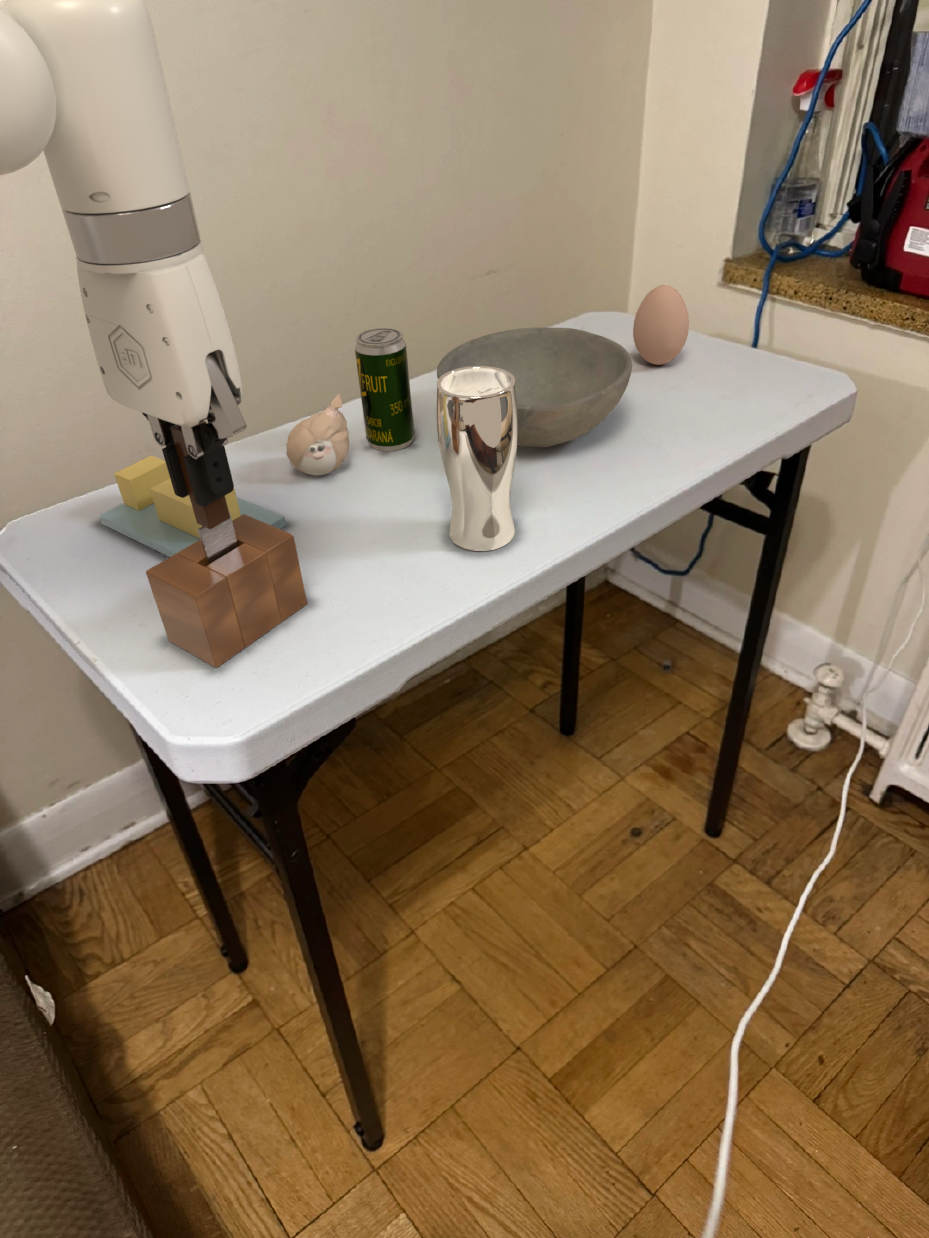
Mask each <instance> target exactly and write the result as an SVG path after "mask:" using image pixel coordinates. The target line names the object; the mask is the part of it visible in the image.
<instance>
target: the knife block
mask: <svg viewBox="0 0 929 1238" xmlns="http://www.w3.org/2000/svg"><path fill="white" fill-rule="evenodd" d="M232 523H233V527H234V531H235V535H236V539H237V543H238V547H237V548H236V549H234V550H232V551H231V552H229V553H227V554H226V555H224V556H222V557H221V558H219V559H217V560H216V561H214V562H212V563H211V564H209V565H207V562H206V558H205V555H204V551H203V548H202V544H201V541H200V540H198V541H197V542H195V543H193V544H191V545H190V546H188V547H186V548H185V549H183V550H181V551H179V552H178V553H177V554H174V555H173V556H171V557H169V556H168V558H166V559H164V560H163V561H160V562H159V563H157V564H156V565H154V566H152V567H150V568H149V569H147V570H145V575H146V577H147V580H148V583H149V586H150V589H151V593H152V595H153V598H154V601H155V604H156V607H157V611H158V614H159V616H160V619H161V622H162V625H163V628H164V632H165V634H166V637H167V640H168V642H170V643H171V644H173V645H174V646H176V647H178V648H180V649H182V650H183V651H186V652H187V653H189V654H191V656H192V655H193V656H194V657H196V658H197V659H200V660H202V661H203V662H204V663H207V664H208V665H210V666H212V667H214V668H216V669H217V668H219V667H220V666H222V665H223V664H224V663H226V662H227V661H229V660H230V659H232V658H233V657H234V656H236V655H237V654H239V653H240V652H242V651H243V650H244V649H245V648H247V647H249V646H251V644H253V643H254V642H256V641H257V640H259V639H260V638H261V637H263V636H264V635H266V634H267V633H269V632H270V631H271V630H273V629H274V628H276V627H277V626H278V625H280V624H282V622H284V621H287V619H288V618H290V617H291V616H293V615H295V613H297V612H298V611H300V610H301V609H303V608H304V607H306V606H307V605H308V600H307V594H306V590H305V585H304V580H303V575H302V570H301V566H300V561H299V555H298V550H297V545H296V540H295V536H294V534H293V533H291V532H288V531H286V530H283V529H282V528H281V529H278V528H276V527H274V526H271V525H269V524H266V523H264V522H262V521H259V520H257V519H254V518H252V517H250V516H247V515H245V514H243V515H241V516H239V517H238V518H236V519H234V520H233V521H232Z"/></svg>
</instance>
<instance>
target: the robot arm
mask: <svg viewBox="0 0 929 1238" xmlns="http://www.w3.org/2000/svg"><path fill="white" fill-rule="evenodd" d="M151 19H152V18H151V15H150V12H149V10H148V7H147V5H146V4H145V2H144V0H0V176H5V175H8V174H13V173H15V172H17V171H19V170H22V169H24V168H25V167H28V166H29V165H30V164H31V163H32V162H34V161H35V160H36V159H38V157H40V155H41V154H42V153H43V154H44V158H45V160H46V163H47V166H48V170H49V173H50V177H51V180H52V182H53V186H54V190H55V193H56V195H57V199H58V202H59V205H60V208H61V211H62V214H63V217H64V218H63V219H64V221H65V225H66V228H67V230H68V234H69V237H70V240H71V244H72V247H73V249H74V253H75V255H76V256H75V260H76V270H77V278H78V286H79V292H80V296H81V302H82V306H83V307H82V308H83V311H84V316H85V320H86V324H87V329H88V332H89V336H90V340H91V344H92V347H93V351H94V355H95V359H96V362H97V365H98V369H99V372H100V376H101V378H102V382H103V385H104V388H105V390H106V393H107V395H109V397H110V398H111V399H112V400H113V401H115V402H116V403H118V404H120V405H122V406H125V407H127V408H129V409H132V410H135V411H138V412H140V413H141V414H142V415H143V417H145V418H146V420H147V421H148V422H149V426H150V430H151V433H152V435H153V439H154V441H155V442H156V444H157V445H158V446H160V447H163V448H161V451H162V455H163V458H164V461H165V462H166V465H167V469H168V472H169V475H170V479H171V482H172V486H173V489H174V493H175V495H177V496H179V497H181V498H184V497H186V496H188V495H189V493H188V490H187V486H186V482H185V479H184V475H183V472H182V468H181V465H180V461H179V458H178V454H177V451H176V447H175V444H174V440H173V437H172V433H171V429H170V427H171V426H173V425H175V424H176V425H179V426H181V429H182V433H183V437H184V441H185V445H186V449H187V451H188V453H189V455H187V456H185V457H183V458H184V462H185V465H186V469H187V473H188V476H189V480H190V483H191V487H192V491H193V494H194V498H195V501H196V504H198V505H200V506H202V507H205V506H207V505H209V504H211V503H212V502H214V501H216V500H218V499H220V498H221V497H223V496H225V495H227V494H229V493H230V492H232V491H233V489H235V484H234V481H233V480H234V479H233V475H232V472H231V468H230V464H229V459H228V455H227V452H226V448H225V445H227V444H228V443H229V438H232V437H234V436H237V435H238V434H240V433H242V432H244V431H246V430H247V423H246V420H245V418H244V416H243V414H242V412H241V409H240V407H239V405H240V404H242V401H243V398H244V390H243V389H244V388H243V381H242V375H241V370H240V364H239V359H238V356H237V352H236V348H235V347H236V346H235V343H234V340H233V337H232V333H231V330H230V325H229V322H228V319H227V316H226V313H225V309H224V306H223V303H222V300H221V297H220V294H219V291H218V287H217V285H216V282H215V280H214V277H213V274H212V271H211V269H210V267H209V264H208V261H207V258H206V256H205V254H203V253H202V252H203V250H204V247H203V243H202V239H201V234H200V230H199V225H198V220H197V217H196V212H195V208H194V204H193V199H192V195H191V192H190V185H189V182H188V178H187V177H188V176H187V172H186V169H185V164H184V159H183V155H182V150H181V145H180V142H179V141H180V140H179V137H178V132H177V128H176V124H175V119H174V115H173V110H172V105H171V101H170V97H169V93H168V88H167V83H166V78H165V75H164V71H163V66H162V61H161V58H160V52H159V48H158V43H157V40H156V39H157V38H156V35H155V30H154V26H153V24H152V20H151ZM202 421H206V423H207V424H204V425H203V426H202V427H201V429H200V430H198V426H197V424H198V423H199V422H202Z"/></svg>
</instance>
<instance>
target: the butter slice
mask: <svg viewBox="0 0 929 1238" xmlns="http://www.w3.org/2000/svg"><path fill="white" fill-rule="evenodd" d="M113 475H114V479H115V481H116V484H117V487H118V490H119V493H120V496H121V499H122V503H124V504H125V505H127V506H129V507H132V508H134V509H136V510H138V511H140V510H142V509H144V508H145V507H147V506H149V505H151V504H153V503H154V501H153V498H152V495H151V492H150V488H152V487H154V486H156V485H158V484H160V483H162V482H164V481H166V480H168V479H170V475H169V472H168V469H167V465H166V462H165V459H164V460H163V459H162V458H159V457H157V456H154V455H149V456H147V457H145V458H143V459H141V460H139V461H137V462H135V463H133V464H131V465H128V466H126V467H125V468H122V469H120V470H118V471H116V472H114V473H113Z"/></svg>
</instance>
